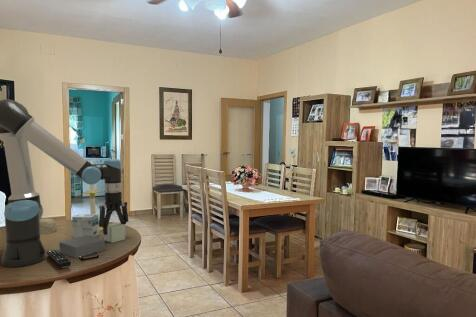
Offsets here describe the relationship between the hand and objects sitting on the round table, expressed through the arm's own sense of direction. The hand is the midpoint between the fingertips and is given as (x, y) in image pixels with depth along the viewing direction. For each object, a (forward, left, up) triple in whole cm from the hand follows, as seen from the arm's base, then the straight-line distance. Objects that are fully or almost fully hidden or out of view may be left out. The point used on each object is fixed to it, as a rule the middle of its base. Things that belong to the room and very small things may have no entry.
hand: (114, 238), depth 168 cm
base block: (-18, -4, -1) cm, 18 cm away
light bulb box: (-5, +17, -1) cm, 18 cm away
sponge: (-13, +42, -1) cm, 44 cm away
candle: (+4, +26, -1) cm, 26 cm away
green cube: (0, 0, 0) cm, 0 cm away
